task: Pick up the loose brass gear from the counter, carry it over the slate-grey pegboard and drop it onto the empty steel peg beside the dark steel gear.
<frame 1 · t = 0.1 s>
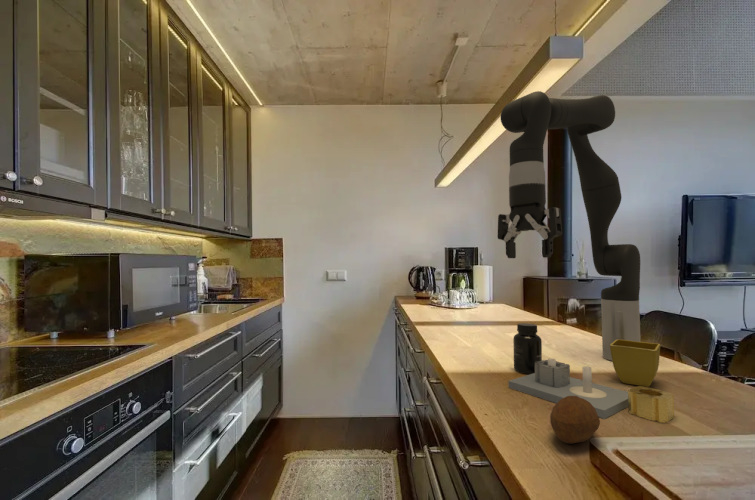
hand: (528, 257, 80), 29 cm above the table, tool pointing down, fingers open, 8 cm apart
brass gear: (651, 414, 67), on the table
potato: (575, 441, 57), on the table
supplement bottle: (527, 371, 94), on the table
pegboard: (569, 394, 77), on the table
flower pot: (636, 383, 84), on the table
steel gear: (552, 373, 80), point 4 cm above the table, hinge at 0.0°
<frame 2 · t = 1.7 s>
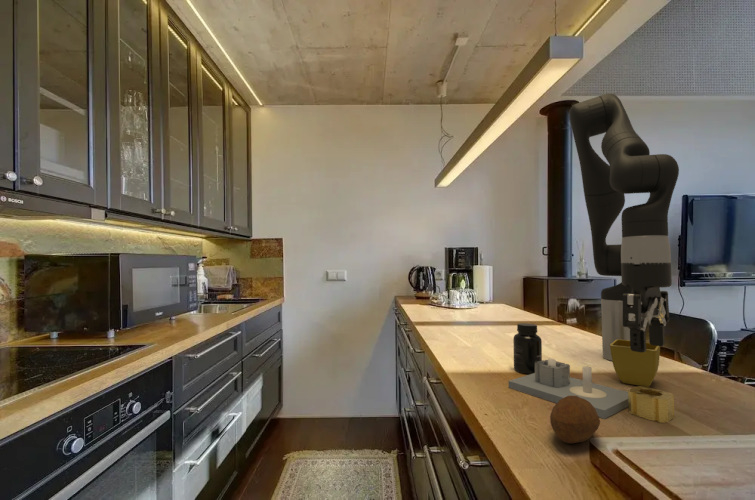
hand: (647, 348, 67), 12 cm above the table, tool pointing down, fingers open, 8 cm apart
nothing on the table moved.
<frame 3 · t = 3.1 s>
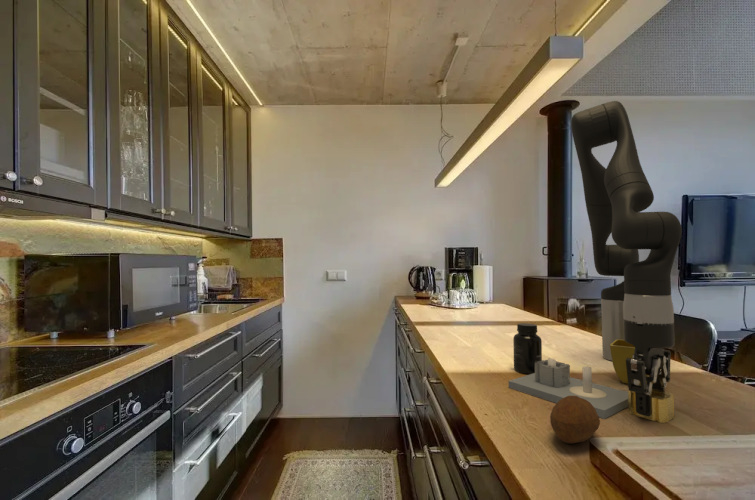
hand: (650, 410, 67), 1 cm above the table, tool pointing down, fingers closed on brass gear, 5 cm apart
brass gear: (651, 414, 67), on the table, touching gripper
everything else where it was.
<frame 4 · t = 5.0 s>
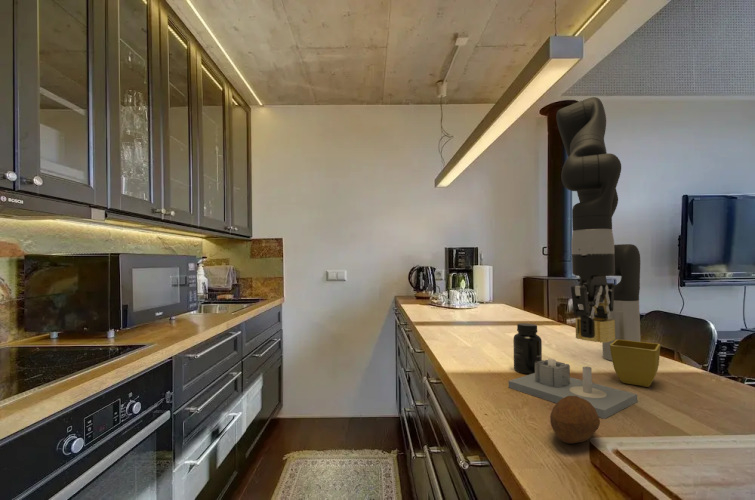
hand: (594, 334, 73), 13 cm above the table, tool pointing down, fingers closed on brass gear, 5 cm apart
brass gear: (595, 338, 73), point 13 cm above the table, touching gripper
everything else where it was.
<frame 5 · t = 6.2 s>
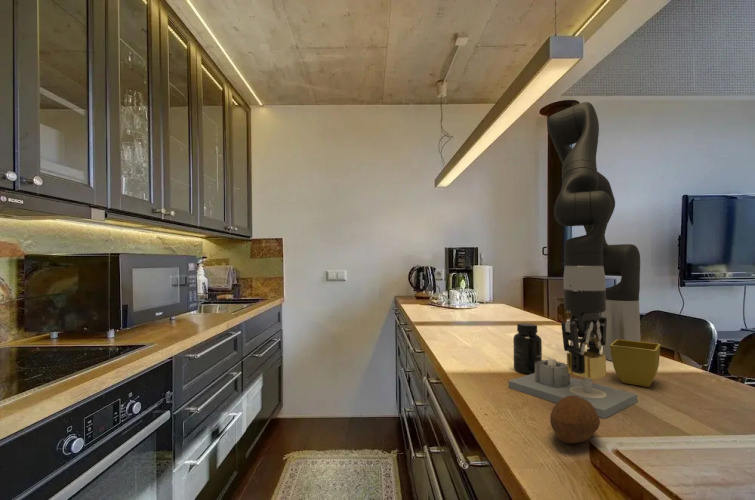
hand: (586, 369, 74), 6 cm above the table, tool pointing down, fingers closed on brass gear, 5 cm apart
brass gear: (586, 373, 74), point 5 cm above the table, touching gripper
everything else where it was.
when the fingers open (4 cm above the table, at t = 7.1 s): brass gear drops 2 cm, resting on pegboard.
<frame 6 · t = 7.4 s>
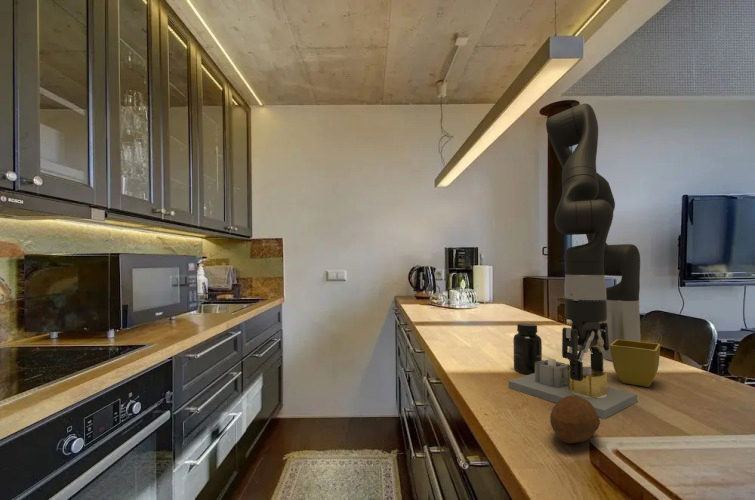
hand: (587, 376, 74), 5 cm above the table, tool pointing down, fingers open, 8 cm apart
brass gear: (587, 391, 74), point 2 cm above the table, touching pegboard
everything else where it was.
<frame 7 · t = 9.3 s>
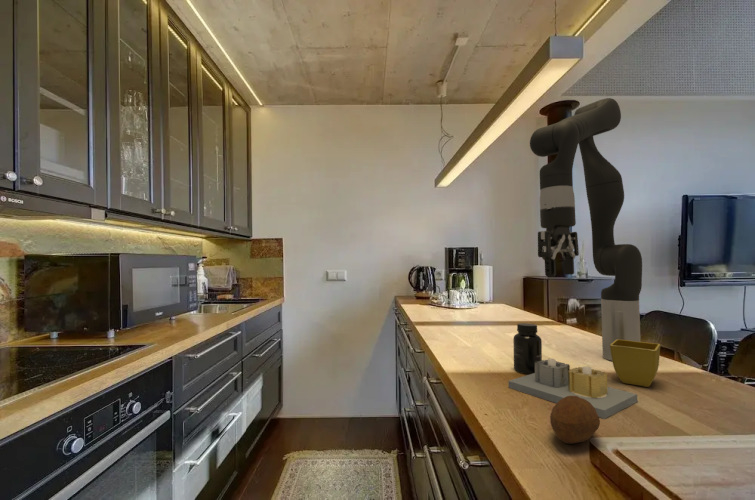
hand: (560, 275, 86), 25 cm above the table, tool pointing down, fingers open, 8 cm apart
nothing on the table moved.
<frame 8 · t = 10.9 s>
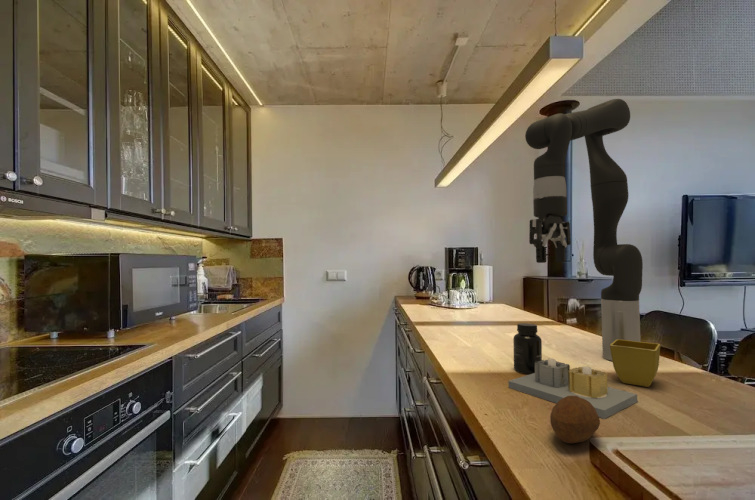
hand: (551, 262, 89), 28 cm above the table, tool pointing down, fingers open, 8 cm apart
nothing on the table moved.
at the end: brass gear 0.1 cm from the target spot on the pegboard, point 1.6 cm above the pegboard's base; the gripper is holding nothing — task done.
